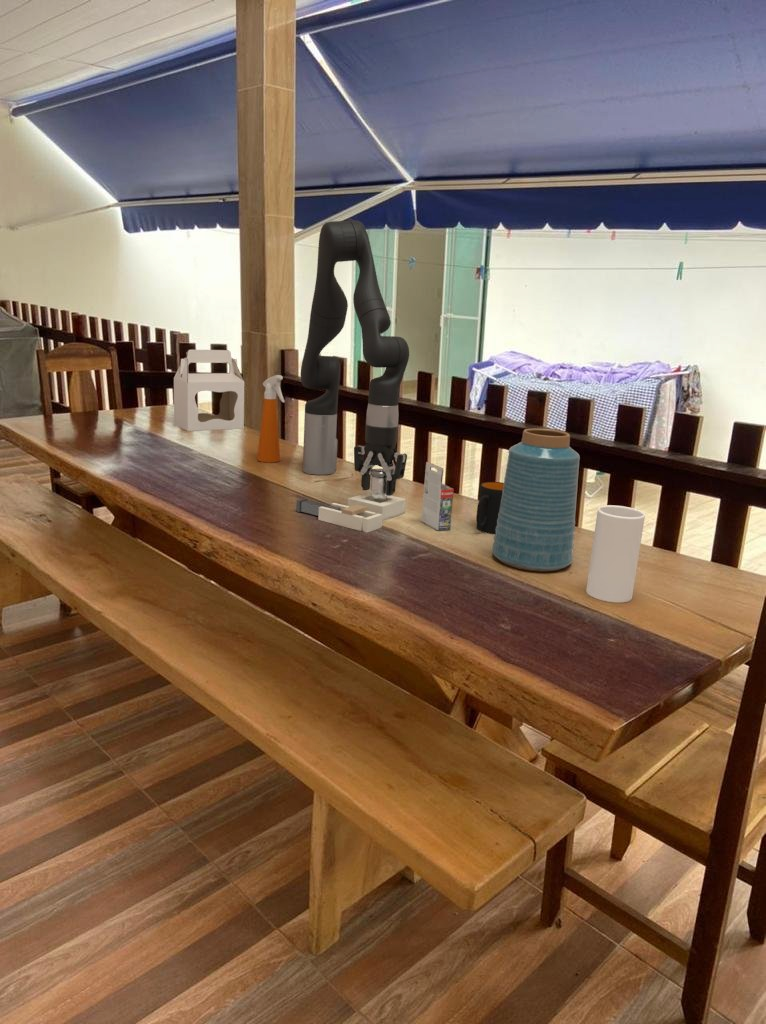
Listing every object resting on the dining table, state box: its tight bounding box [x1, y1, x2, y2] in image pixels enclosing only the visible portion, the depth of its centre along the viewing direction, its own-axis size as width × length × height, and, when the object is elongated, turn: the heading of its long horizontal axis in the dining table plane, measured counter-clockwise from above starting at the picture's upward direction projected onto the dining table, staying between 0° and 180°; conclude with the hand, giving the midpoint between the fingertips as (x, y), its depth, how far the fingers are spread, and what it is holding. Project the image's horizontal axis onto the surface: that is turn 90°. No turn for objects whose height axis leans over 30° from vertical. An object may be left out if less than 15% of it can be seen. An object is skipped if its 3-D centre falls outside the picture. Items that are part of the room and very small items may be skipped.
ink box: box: [421, 461, 454, 532], centre depth 179 cm, size 4×8×15 cm, turn 26°
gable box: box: [173, 349, 245, 432], centre depth 283 cm, size 22×13×28 cm, turn 125°
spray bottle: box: [256, 374, 286, 464], centre depth 233 cm, size 7×11×26 cm, turn 41°
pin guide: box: [317, 502, 383, 534], centre depth 177 cm, size 6×14×4 cm, turn 56°
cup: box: [585, 504, 646, 604], centre depth 142 cm, size 8×8×16 cm
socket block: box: [347, 491, 407, 522], centre depth 188 cm, size 10×10×4 cm
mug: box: [475, 481, 504, 535], centre depth 178 cm, size 8×12×10 cm
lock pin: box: [295, 497, 340, 516], centre depth 182 cm, size 3×11×3 cm, turn 56°
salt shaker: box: [369, 468, 388, 503], centre depth 186 cm, size 5×5×10 cm
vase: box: [491, 428, 581, 573], centre depth 157 cm, size 16×16×27 cm
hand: (377, 492), depth 187 cm, fingers open, 6 cm apart
